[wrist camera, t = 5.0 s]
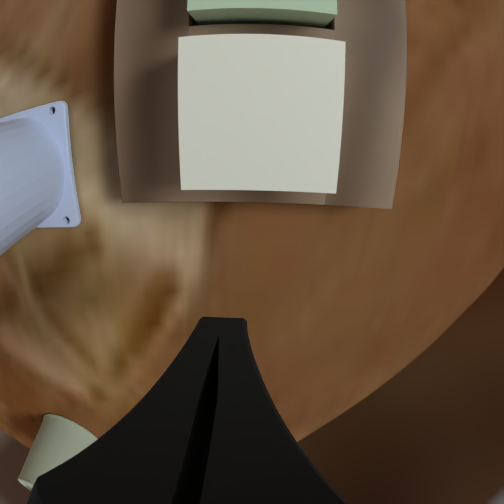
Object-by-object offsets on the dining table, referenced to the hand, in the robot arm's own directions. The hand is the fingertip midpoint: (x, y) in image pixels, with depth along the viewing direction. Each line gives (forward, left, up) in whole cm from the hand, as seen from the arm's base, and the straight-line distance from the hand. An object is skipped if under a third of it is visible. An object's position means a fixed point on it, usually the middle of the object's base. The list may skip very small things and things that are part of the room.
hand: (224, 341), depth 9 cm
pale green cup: (-24, -31, -10) cm, 40 cm away
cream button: (+1, +7, -8) cm, 10 cm away
